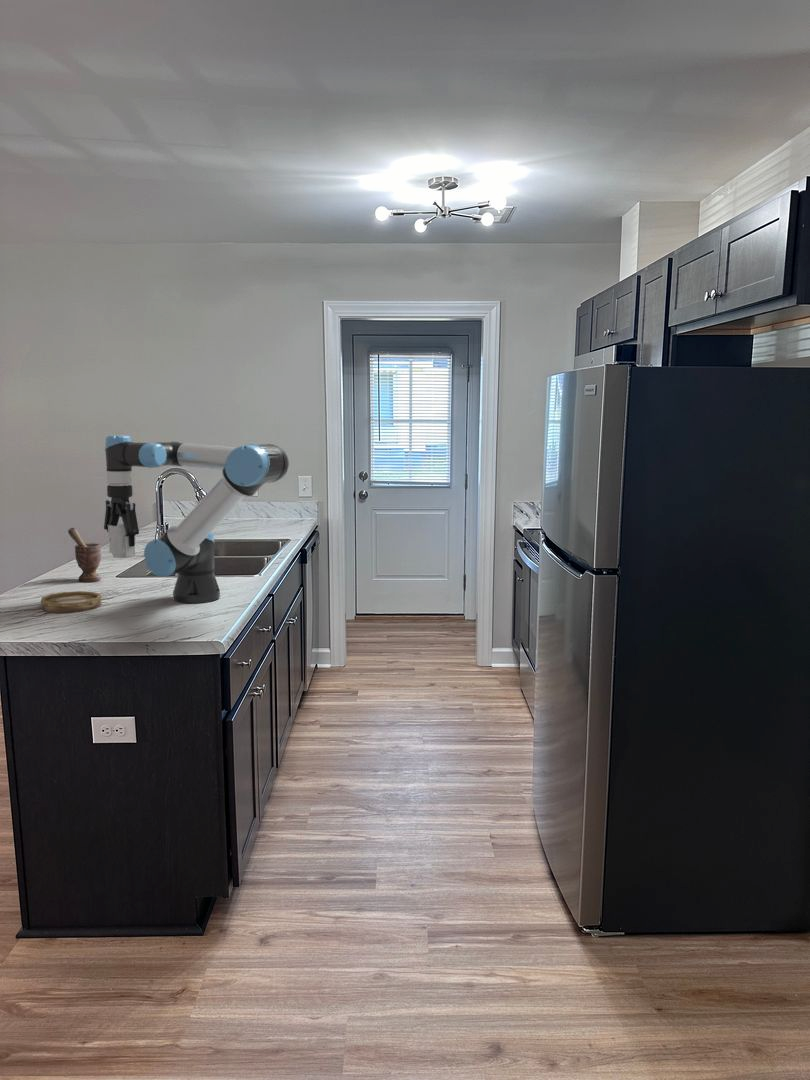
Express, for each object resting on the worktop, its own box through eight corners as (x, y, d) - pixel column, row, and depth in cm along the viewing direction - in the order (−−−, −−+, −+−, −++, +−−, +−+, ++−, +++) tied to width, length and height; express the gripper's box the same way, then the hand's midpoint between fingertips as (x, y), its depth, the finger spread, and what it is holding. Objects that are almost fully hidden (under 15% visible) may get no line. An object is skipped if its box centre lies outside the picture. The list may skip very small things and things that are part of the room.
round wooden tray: (111, 606, 239) (111, 597, 239) (57, 615, 226) (57, 606, 226) (84, 597, 250) (84, 588, 250) (32, 605, 237) (31, 597, 237)
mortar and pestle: (89, 585, 268) (87, 529, 265) (66, 584, 269) (64, 528, 266) (106, 578, 279) (104, 524, 276) (84, 577, 280) (82, 523, 277)
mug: (135, 560, 240) (134, 528, 239) (107, 560, 238) (105, 529, 236) (137, 553, 251) (136, 523, 250) (110, 554, 249) (109, 524, 247)
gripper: (149, 486, 237) (151, 557, 240) (112, 481, 251) (114, 548, 255) (127, 487, 231) (129, 560, 235) (90, 482, 245) (93, 551, 249)
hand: (122, 554), depth 245 cm, fingers closed on mug, 10 cm apart
